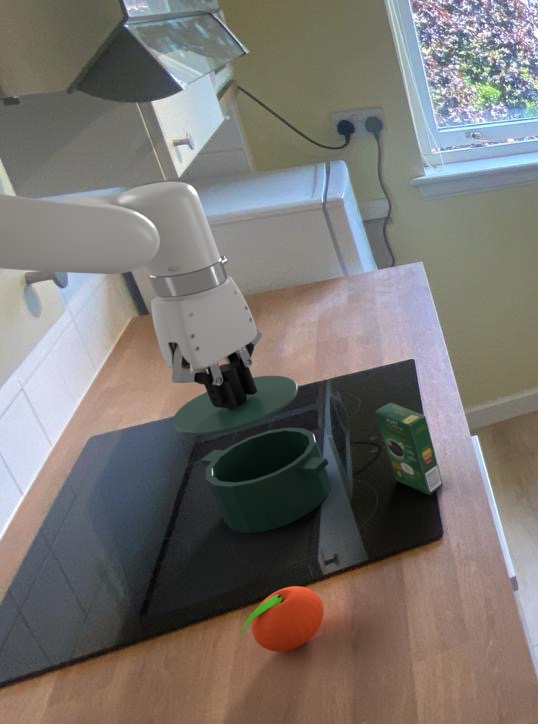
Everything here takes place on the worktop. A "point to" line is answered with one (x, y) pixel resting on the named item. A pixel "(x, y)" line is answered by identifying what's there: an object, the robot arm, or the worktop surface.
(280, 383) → the lid
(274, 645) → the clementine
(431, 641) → the worktop surface
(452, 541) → the worktop surface
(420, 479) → the coffee box
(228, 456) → the pot
